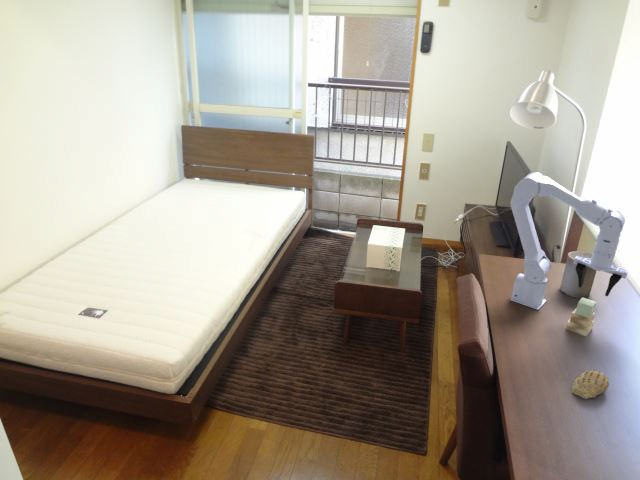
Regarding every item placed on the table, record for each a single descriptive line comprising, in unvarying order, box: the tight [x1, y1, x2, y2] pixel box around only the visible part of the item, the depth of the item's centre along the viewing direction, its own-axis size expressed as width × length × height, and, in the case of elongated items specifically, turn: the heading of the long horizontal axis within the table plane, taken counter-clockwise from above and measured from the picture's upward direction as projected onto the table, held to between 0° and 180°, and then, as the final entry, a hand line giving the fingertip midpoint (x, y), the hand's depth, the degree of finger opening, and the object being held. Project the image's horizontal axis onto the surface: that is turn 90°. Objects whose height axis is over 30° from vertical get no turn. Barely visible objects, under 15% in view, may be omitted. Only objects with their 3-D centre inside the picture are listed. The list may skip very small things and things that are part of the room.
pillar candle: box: [559, 250, 598, 299], centre depth 169 cm, size 10×10×15 cm
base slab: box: [565, 318, 595, 338], centre depth 150 cm, size 6×6×3 cm
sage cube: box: [575, 297, 597, 318], centre depth 147 cm, size 4×4×4 cm
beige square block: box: [569, 307, 596, 328], centre depth 149 cm, size 5×5×3 cm
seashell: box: [570, 369, 610, 400], centre depth 124 cm, size 8×6×10 cm
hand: (593, 290), depth 151 cm, fingers open, 7 cm apart
